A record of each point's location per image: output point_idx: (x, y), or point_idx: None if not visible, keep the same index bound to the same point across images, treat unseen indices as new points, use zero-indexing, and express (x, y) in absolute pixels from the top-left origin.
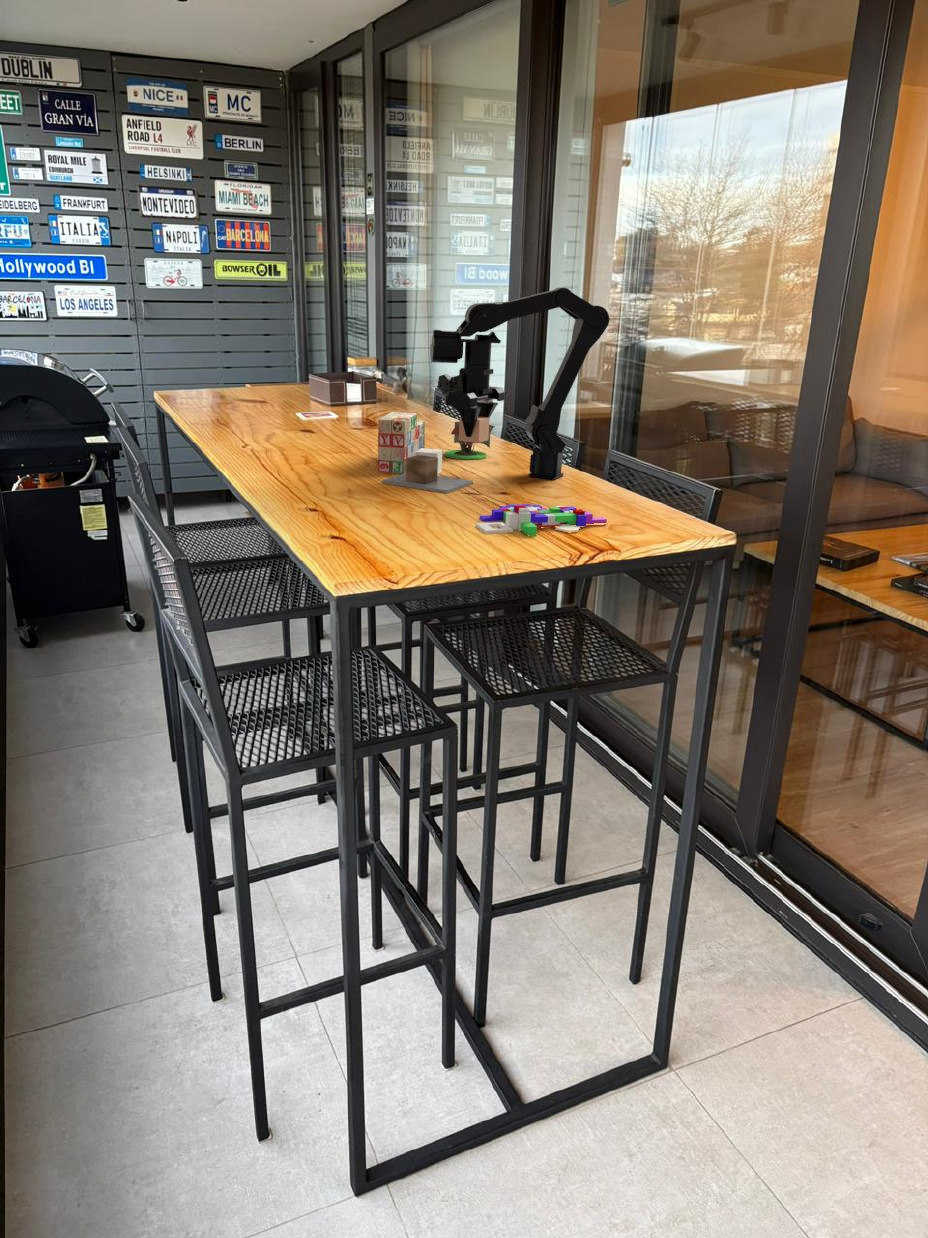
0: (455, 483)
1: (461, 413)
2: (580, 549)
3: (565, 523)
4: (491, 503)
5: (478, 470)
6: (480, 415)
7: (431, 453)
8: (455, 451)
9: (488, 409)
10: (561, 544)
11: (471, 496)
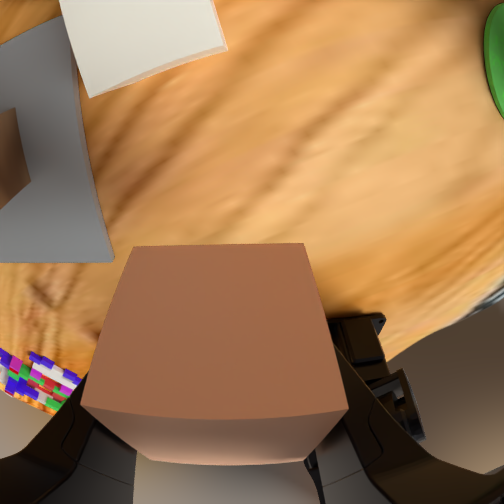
0: (49, 242)
1: (34, 454)
2: (32, 403)
3: (59, 402)
4: (37, 338)
5: (337, 174)
6: (331, 449)
7: (80, 68)
8: None
9: (329, 502)
10: (25, 395)
11: (31, 302)
